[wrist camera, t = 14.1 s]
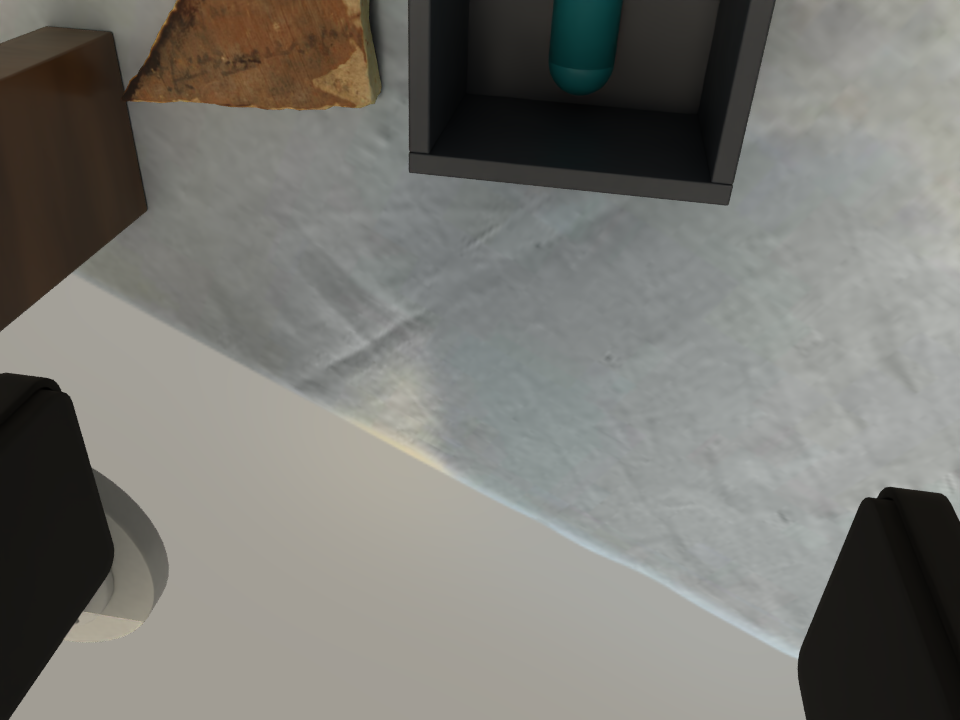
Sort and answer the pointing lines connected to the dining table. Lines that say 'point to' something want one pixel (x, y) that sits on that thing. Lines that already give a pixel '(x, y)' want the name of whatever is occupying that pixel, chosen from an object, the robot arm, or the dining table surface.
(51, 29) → the stand
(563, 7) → the rod
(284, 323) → the dining table surface
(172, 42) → the shard
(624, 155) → the bin
